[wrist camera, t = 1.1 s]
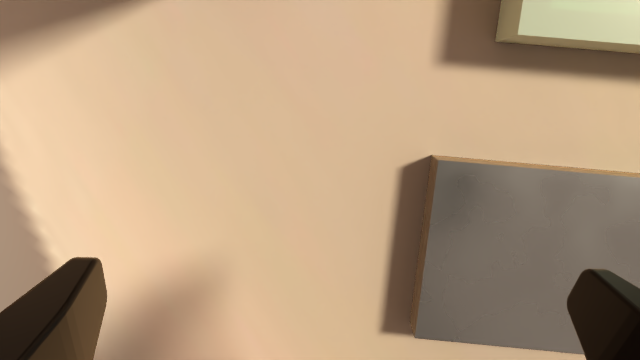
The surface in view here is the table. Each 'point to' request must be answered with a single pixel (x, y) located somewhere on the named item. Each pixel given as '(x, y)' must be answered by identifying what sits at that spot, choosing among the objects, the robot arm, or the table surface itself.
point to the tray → (572, 24)
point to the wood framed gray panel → (518, 249)
